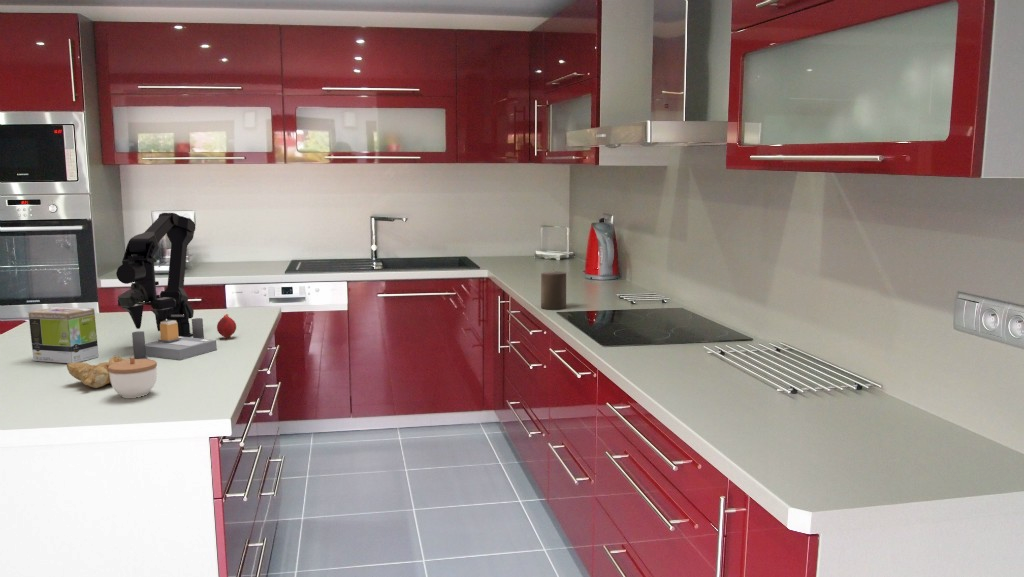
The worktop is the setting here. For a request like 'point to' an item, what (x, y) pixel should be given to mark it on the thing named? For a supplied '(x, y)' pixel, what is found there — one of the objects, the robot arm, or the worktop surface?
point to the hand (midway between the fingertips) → (148, 329)
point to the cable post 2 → (197, 328)
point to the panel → (180, 348)
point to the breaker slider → (169, 331)
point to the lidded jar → (133, 377)
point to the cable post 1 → (139, 345)
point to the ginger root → (93, 372)
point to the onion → (226, 326)
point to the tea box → (63, 334)
